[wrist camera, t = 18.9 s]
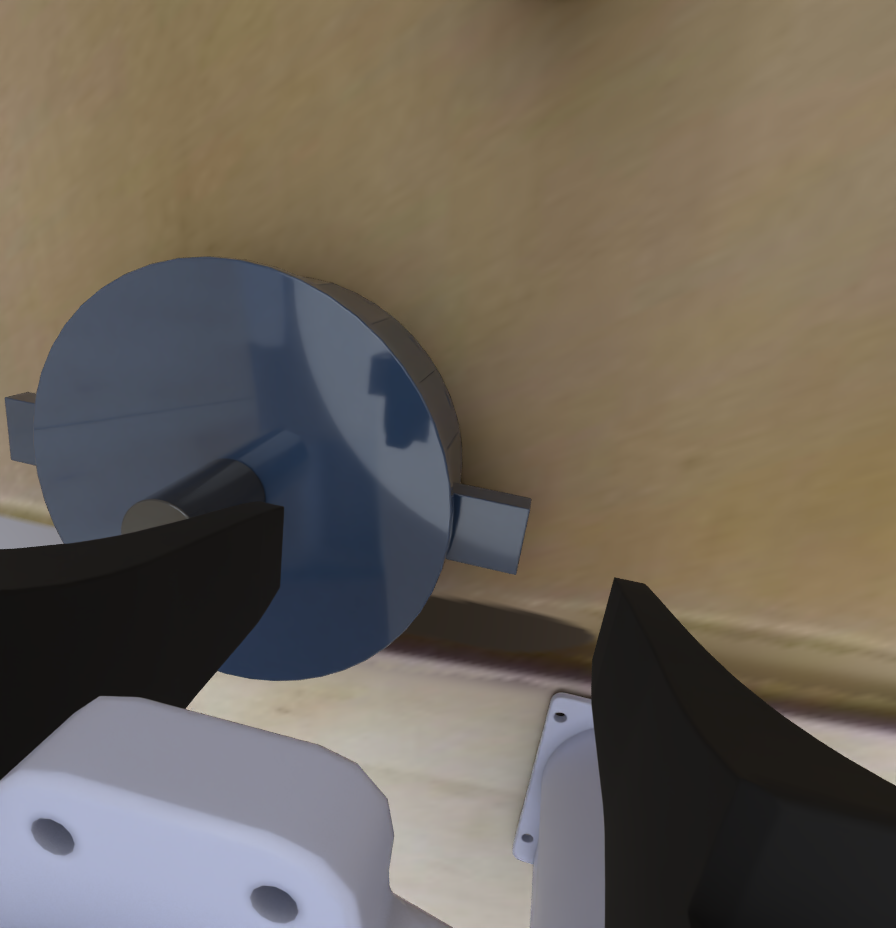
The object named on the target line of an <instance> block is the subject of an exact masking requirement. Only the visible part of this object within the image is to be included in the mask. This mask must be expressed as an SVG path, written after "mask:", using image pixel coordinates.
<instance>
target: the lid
mask: <svg viewBox="0 0 896 928" xmlns="http://www.w3.org/2000/svg"><path fill="white" fill-rule="evenodd" d="M33 441H34V454H35V460H36V467H37V474H38V478H39V482H40V485H41V489H42V493H43V497H44V500H45V503H46V505H47V508H48V511H49V513H50V516H51V518H52V521H53V524H54V526H55V528H56V530H57V532H58V534H59V535H60V537H61V540H62V541H63V543H64V544H67V543H75V542H82V541H89V540H95V539H101V538H107V537H112V536H118V535H123V534H127V533H132V532H136V531H141V530H145V529H149V528H153V527H157V526H161V525H165V524H169V523H173V522H177V521H181V520H185V519H188V518H192V517H195V516H199V515H203V514H206V513H210V512H213V511H217V510H221V509H224V508H228V507H232V506H236V505H240V504H244V503H249V502H256V501H260V502H265V503H269V504H274V505H279V506H283V507H284V523H283V542H282V561H281V581H280V588H279V590H278V592H277V593H276V595H275V597H274V598H273V600H272V602H271V603H270V605H269V607H268V608H267V610H266V611H265V613H264V614H263V616H262V618H261V619H260V621H259V622H258V623H257V625H256V626H255V627H254V628H253V629H252V631H251V632H250V633H249V634H248V635H247V637H246V638H245V639H244V640H243V641H242V643H241V644H240V645H239V646H238V647H237V648H236V650H235V651H234V652H233V653H232V654H231V655H230V657H229V658H228V659H227V660H226V661H225V662H224V664H223V665H222V666H221V667H220V668H219V669H218V671H219V672H222V673H225V674H229V675H234V676H239V677H244V678H249V679H258V680H269V681H293V680H304V679H310V678H317V677H323V676H326V675H329V674H333V673H336V672H340V671H343V670H346V669H348V668H350V667H352V666H355V665H357V664H359V663H361V662H363V661H366V660H367V659H369V658H370V657H372V656H374V655H375V654H377V653H378V652H380V651H381V650H383V649H384V648H386V647H387V646H388V645H390V644H391V643H392V642H393V641H394V640H395V639H396V638H398V637H399V636H400V635H401V634H402V633H403V632H404V631H405V630H406V629H407V628H408V626H409V625H410V624H411V623H412V622H413V621H414V619H415V618H416V617H417V616H418V615H419V613H420V612H421V610H422V609H423V607H424V605H425V604H426V602H427V600H428V599H429V597H430V595H431V594H432V592H433V590H434V588H435V585H436V583H437V580H438V578H439V576H440V573H441V571H442V568H443V566H444V563H445V560H446V556H447V552H448V548H449V544H450V540H451V536H452V526H453V516H454V493H453V477H452V472H451V466H450V461H449V455H448V450H447V447H446V443H445V440H444V437H443V434H442V431H441V428H440V425H439V421H438V419H437V417H436V415H435V413H434V411H433V408H432V406H431V404H430V402H429V400H428V398H427V395H426V393H425V391H424V390H423V388H422V387H421V385H420V383H419V382H418V380H417V379H416V377H415V375H414V374H413V372H412V371H411V369H410V367H409V366H408V364H407V363H406V362H405V360H404V359H403V358H402V357H401V356H400V354H399V353H398V352H397V351H396V349H395V348H394V347H393V346H392V344H391V343H390V342H389V341H388V340H387V338H386V337H385V336H384V335H383V334H381V333H380V332H379V331H378V330H377V329H376V328H375V327H374V326H373V325H372V324H371V323H370V322H369V321H368V320H367V319H366V318H365V317H364V316H363V315H362V314H360V313H359V312H357V311H356V310H355V309H353V308H352V307H351V306H349V305H348V304H347V303H345V302H344V301H343V300H341V299H340V298H339V297H337V296H336V295H334V294H333V293H331V292H329V291H327V290H325V289H324V288H322V287H320V286H318V285H316V284H315V283H313V282H311V281H309V280H308V279H305V278H303V277H300V276H298V275H295V274H293V273H290V272H288V271H285V270H283V269H280V268H278V267H274V266H270V265H266V264H262V263H258V262H254V261H250V260H246V259H236V258H226V257H214V256H207V257H188V258H176V259H172V260H167V261H162V262H158V263H153V264H149V265H147V266H144V267H142V268H139V269H137V270H134V271H131V272H129V273H126V274H124V275H123V276H121V277H119V278H117V279H116V280H114V281H112V282H111V283H109V284H107V285H106V286H104V287H102V288H101V289H100V290H99V291H98V292H96V293H95V294H94V295H93V296H92V297H91V298H89V299H88V300H87V301H86V302H85V303H84V304H82V305H81V306H80V308H79V309H78V310H77V311H76V312H75V313H74V315H73V316H72V317H71V318H70V319H69V321H68V322H67V323H66V324H65V325H64V327H63V329H62V330H61V332H60V334H59V335H58V337H57V339H56V341H55V342H54V344H53V346H52V347H51V350H50V352H49V354H48V357H47V359H46V362H45V364H44V367H43V369H42V372H41V376H40V380H39V385H38V389H37V393H36V397H35V407H34V417H33Z"/></svg>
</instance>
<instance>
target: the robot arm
mask: <svg viewBox="0 0 896 928" xmlns="http://www.w3.org/2000/svg"><path fill="white" fill-rule="evenodd" d="M283 523H284V507H283V506H279V505H274V504H269V503H265V502H260V501H256V502H249V503H244V504H240V505H236V506H232V507H228V508H224V509H221V510H217V511H213V512H210V513H206V514H203V515H199V516H195V517H192V518H188V519H185V520H181V521H177V522H173V523H169V524H165V525H161V526H157V527H153V528H149V529H145V530H141V531H136V532H132V533H127V534H123V535H118V536H112V537H107V538H101V539H95V540H89V541H82V542H75V543H67V544H57V545H47V546H38V547H27V548H17V549H0V928H453V927H451V926H449V925H448V924H446V923H444V922H443V921H441V920H439V919H437V918H436V917H434V916H432V915H430V914H429V913H427V912H425V911H424V910H422V909H420V908H418V907H417V906H415V905H413V904H412V903H410V902H408V901H406V900H405V899H403V898H401V897H400V896H398V895H396V894H394V893H393V892H392V891H391V889H390V886H389V866H390V859H391V853H392V846H393V839H394V831H393V825H392V820H391V815H390V809H389V804H388V799H387V798H386V797H385V795H384V794H383V793H382V792H381V791H380V789H379V788H378V787H377V786H376V785H375V784H374V782H373V781H372V780H371V779H370V778H369V777H368V775H367V774H366V773H365V772H364V771H363V769H362V768H361V767H360V766H359V765H358V764H357V763H355V762H353V761H351V760H349V759H347V758H345V757H343V756H341V755H339V754H337V753H335V752H333V751H331V750H329V749H327V748H325V747H323V746H321V745H318V744H314V743H310V742H307V741H303V740H299V739H295V738H292V737H288V736H284V735H280V734H277V733H273V732H269V731H265V730H262V729H258V728H254V727H250V726H247V725H243V724H239V723H235V722H231V721H228V720H224V719H220V718H216V717H213V716H209V715H205V714H201V713H198V712H194V711H190V710H186V707H187V706H188V705H189V704H190V702H191V701H192V700H193V699H194V697H195V696H196V695H197V694H198V693H199V691H200V690H201V689H202V688H203V687H204V686H205V684H206V683H207V682H208V681H209V680H210V679H211V678H212V676H213V675H214V674H215V673H216V672H217V671H218V669H219V668H220V667H221V666H222V665H223V664H224V662H225V661H226V660H227V659H228V658H229V657H230V655H231V654H232V653H233V652H234V651H235V650H236V648H237V647H238V646H239V645H240V644H241V643H242V641H243V640H244V639H245V638H246V637H247V635H248V634H249V633H250V632H251V631H252V629H253V628H254V627H255V626H256V625H257V623H258V622H259V621H260V619H261V618H262V616H263V614H264V613H265V611H266V610H267V608H268V607H269V605H270V603H271V602H272V600H273V598H274V597H275V595H276V593H277V592H278V590H279V588H280V581H281V561H282V542H283ZM558 712H562V713H564V714H565V715H564V716H558V715H556V713H558ZM526 834H529V835H526ZM513 855H514V856H515V857H516V858H517V859H518V860H520V861H523V862H527V863H530V864H533V881H532V899H531V917H530V928H896V786H895V785H893V784H891V783H890V782H888V781H886V780H884V779H882V778H881V777H879V776H877V775H875V774H874V773H872V772H870V771H869V770H867V769H865V768H863V767H862V766H860V765H858V764H856V763H855V762H853V761H851V760H850V759H848V758H846V757H844V756H843V755H841V754H840V753H838V752H836V751H835V750H833V749H832V748H830V747H828V746H827V745H825V744H824V743H822V742H821V741H819V740H817V739H816V738H815V737H813V736H812V735H810V734H809V733H807V732H806V731H804V730H803V729H801V728H800V727H798V726H797V725H796V724H794V723H793V722H791V721H790V720H788V719H787V718H785V717H784V716H783V715H781V714H780V713H779V712H777V711H776V710H775V709H773V708H772V707H771V706H769V705H768V704H767V703H766V702H764V701H763V700H762V699H761V698H759V697H758V696H757V695H756V694H754V693H753V692H752V691H751V690H749V689H748V688H747V687H746V686H745V685H743V684H742V683H741V682H740V681H739V680H737V679H736V678H735V677H734V676H733V675H732V674H731V673H730V672H728V671H727V670H726V669H725V668H724V667H723V666H722V665H721V664H720V663H719V662H718V661H717V660H716V659H715V658H714V657H713V656H712V655H711V654H710V653H708V652H707V651H706V650H705V648H704V647H703V646H702V645H701V644H700V643H699V642H698V641H697V640H696V639H695V638H694V637H693V636H692V635H691V634H690V633H689V632H688V631H687V630H686V629H685V627H684V626H683V625H682V624H681V623H680V622H679V621H678V620H677V619H676V618H675V616H674V615H673V614H672V613H671V612H670V611H669V610H668V608H667V607H666V606H665V605H664V604H663V603H662V602H661V601H660V599H659V598H658V597H657V596H656V595H655V594H654V593H653V592H652V591H651V589H650V588H649V587H648V586H646V585H645V584H643V583H638V582H634V581H629V580H624V579H620V578H615V577H614V581H613V584H612V588H611V592H610V596H609V599H608V603H607V607H606V611H605V614H604V618H603V622H602V625H601V629H600V633H599V637H598V640H597V644H596V648H595V652H594V655H593V659H592V684H591V699H588V698H584V697H580V696H576V695H572V694H568V693H562V692H560V693H556V694H555V695H553V696H552V698H551V701H550V705H549V709H548V712H547V716H546V720H545V724H544V728H543V732H542V735H541V739H540V743H539V747H538V751H537V755H536V758H535V762H534V766H533V770H532V774H531V778H530V781H529V785H528V789H527V793H526V797H525V800H524V804H523V808H522V812H521V816H520V820H519V823H518V827H517V831H516V835H515V839H514V843H513Z"/></svg>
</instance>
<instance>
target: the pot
mask: <svg viewBox="0 0 896 928" xmlns="http://www.w3.org/2000/svg"><path fill="white" fill-rule="evenodd" d="M300 277H301V276H300ZM303 278H305V279H308V280H309V281H311V282H313V283H315V284H316V285H318V286H320V287H322V288H324V289H325V290H327V291H329V292H331V293H333V294H334V295H336V296H337V297H339V298H340V299H341V300H343V301H344V302H345V303H347V304H348V305H349V306H351V307H352V308H353V309H355V310H356V311H357V312H359V313H360V314H362V315H363V316H364V317H365V318H366V319H367V320H368V321H369V322H370V323H371V324H372V325H373V326H374V327H375V328H376V329H377V330H378V331H379V332H380V333H381V334H383V335H384V336H385V337H386V338H387V340H388V341H389V342H390V343H391V344H392V346H393V347H394V348H395V349H396V351H397V352H398V353H399V354H400V356H401V357H402V358H403V359H404V360H405V362H406V363H407V364H408V366H409V367H410V369H411V371H412V372H413V374H414V375H415V377H416V379H417V380H418V382H419V383H420V385H421V387H422V388H423V390H424V391H425V393H426V395H427V398H428V400H429V402H430V404H431V406H432V408H433V411H434V413H435V415H436V417H437V419H438V421H439V425H440V428H441V431H442V434H443V437H444V440H445V443H446V447H447V450H448V455H449V461H450V466H451V472H452V477H453V493H454V516H453V526H452V536H451V540H450V544H449V548H448V552H447V556H446V559H448V560H452V561H457V562H461V563H465V564H470V565H474V566H478V567H483V568H487V569H492V570H496V571H500V572H505V573H509V574H514V575H516V573H517V568H518V564H519V559H520V555H521V550H522V545H523V541H524V536H525V532H526V527H527V522H528V518H529V513H530V508H531V501H532V499H531V498H527V497H522V496H517V495H513V494H508V493H503V492H498V491H494V490H489V489H484V488H479V487H475V486H470V485H465V484H461V473H462V442H461V436H460V430H459V425H458V419H457V416H456V413H455V410H454V406H453V403H452V400H451V397H450V395H449V392H448V390H447V388H446V386H445V384H444V382H443V379H442V377H441V375H440V373H439V372H438V370H437V369H436V367H435V365H434V364H433V362H432V361H431V359H430V357H429V356H428V354H427V353H426V352H425V350H424V349H423V348H422V347H421V346H420V344H419V343H418V342H417V341H416V339H415V338H414V337H413V336H412V335H411V334H410V333H409V332H408V331H407V330H406V329H405V328H404V327H403V326H402V325H401V324H400V323H399V322H398V321H397V320H396V319H395V318H393V317H392V316H391V315H389V314H388V313H387V312H385V311H384V310H383V309H381V308H380V307H379V306H377V305H376V304H375V303H373V302H371V301H369V300H367V299H366V298H364V297H362V296H360V295H358V294H357V293H355V292H353V291H350V290H348V289H345V288H343V287H340V286H338V285H337V284H334V283H331V282H326V281H322V280H318V279H314V278H309V277H303ZM35 397H36V394H35V393H30V392H26V393H21V394H17V395H13V396H9V397H5V406H6V415H7V425H8V434H9V444H10V453H11V460H14V461H18V462H22V463H27V464H31V465H36V460H35V454H34V441H33V417H34V407H35Z"/></svg>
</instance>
